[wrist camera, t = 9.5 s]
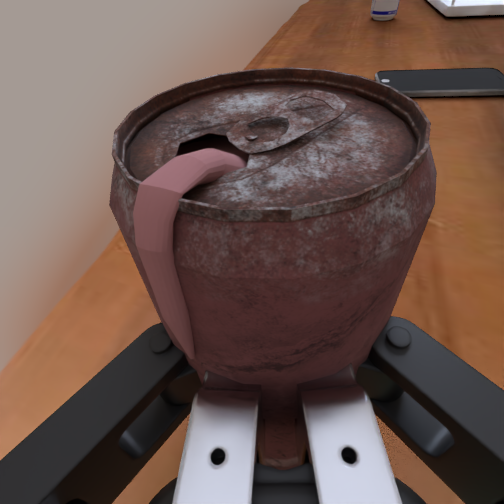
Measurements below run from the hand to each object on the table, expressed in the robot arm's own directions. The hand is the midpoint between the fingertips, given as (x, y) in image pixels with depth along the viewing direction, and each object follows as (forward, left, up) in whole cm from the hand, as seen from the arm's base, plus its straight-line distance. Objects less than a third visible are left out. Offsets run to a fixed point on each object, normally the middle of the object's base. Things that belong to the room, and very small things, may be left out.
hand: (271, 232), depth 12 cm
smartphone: (-33, -26, -9) cm, 43 cm away
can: (+1, +3, -9) cm, 9 cm away
